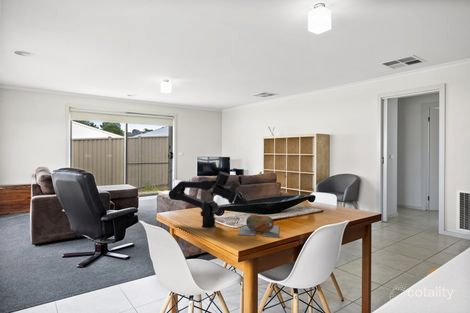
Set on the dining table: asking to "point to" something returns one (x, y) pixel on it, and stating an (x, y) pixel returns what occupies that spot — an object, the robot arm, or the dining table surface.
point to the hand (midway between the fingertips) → (249, 203)
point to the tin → (260, 223)
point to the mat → (248, 232)
